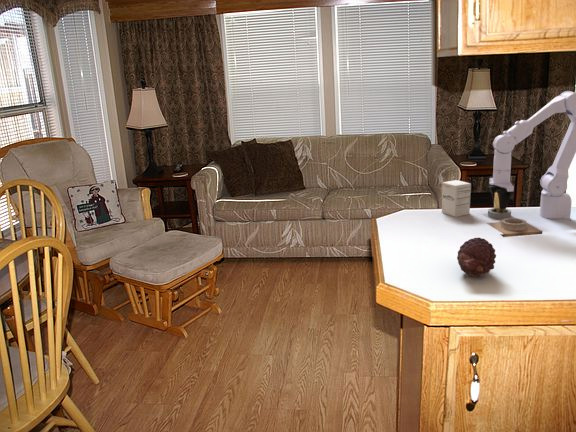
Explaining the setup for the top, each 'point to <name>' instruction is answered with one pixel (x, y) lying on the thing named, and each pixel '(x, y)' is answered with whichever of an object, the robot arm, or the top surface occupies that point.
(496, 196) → the brass peg
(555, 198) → the robot arm
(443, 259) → the top surface
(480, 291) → the top surface
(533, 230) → the hub board
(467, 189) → the supplement box
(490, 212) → the spline stand
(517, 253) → the top surface
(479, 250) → the pine cone
